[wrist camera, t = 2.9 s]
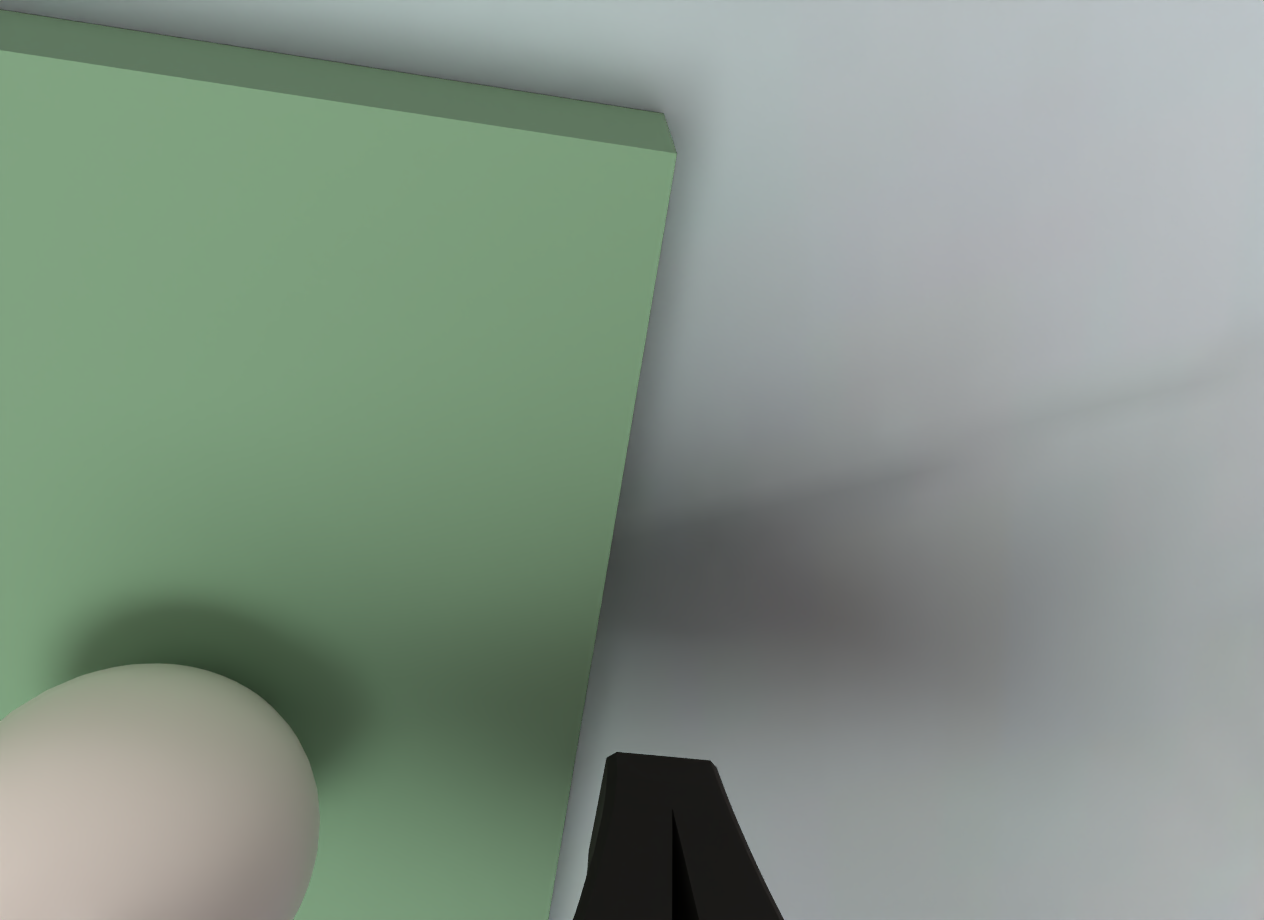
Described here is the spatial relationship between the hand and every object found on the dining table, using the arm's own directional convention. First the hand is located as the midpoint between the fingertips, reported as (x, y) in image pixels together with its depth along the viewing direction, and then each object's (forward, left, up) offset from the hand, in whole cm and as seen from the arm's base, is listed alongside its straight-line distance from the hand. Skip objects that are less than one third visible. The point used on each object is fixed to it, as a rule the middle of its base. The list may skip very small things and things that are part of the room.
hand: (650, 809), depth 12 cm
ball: (+6, 0, +1) cm, 6 cm away
